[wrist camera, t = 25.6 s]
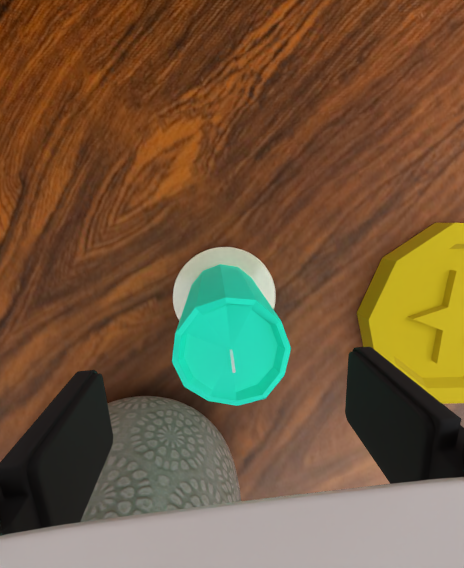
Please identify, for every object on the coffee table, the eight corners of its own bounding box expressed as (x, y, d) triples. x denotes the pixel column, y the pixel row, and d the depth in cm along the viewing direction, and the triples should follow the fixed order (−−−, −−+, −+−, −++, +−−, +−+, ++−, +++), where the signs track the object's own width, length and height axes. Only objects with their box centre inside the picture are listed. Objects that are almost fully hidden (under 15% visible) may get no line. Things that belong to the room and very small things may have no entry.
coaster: (178, 347, 25) (177, 350, 25) (168, 249, 23) (167, 250, 23) (275, 340, 26) (276, 342, 25) (273, 243, 24) (275, 244, 23)
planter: (61, 509, 28) (-107, 831, 13) (66, 361, 25) (-156, 574, 10) (223, 518, 30) (234, 812, 15) (250, 380, 26) (299, 587, 11)
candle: (271, 304, 24) (324, 381, 13) (216, 342, 25) (219, 451, 13) (231, 249, 23) (250, 279, 11) (174, 291, 23) (137, 360, 12)
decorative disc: (324, 295, 25) (334, 302, 23) (496, 181, 24) (522, 178, 22) (402, 421, 29) (416, 436, 27) (555, 328, 27) (581, 336, 25)
